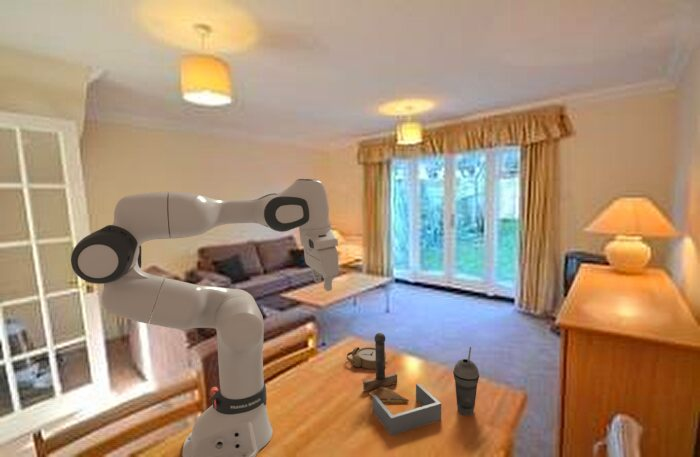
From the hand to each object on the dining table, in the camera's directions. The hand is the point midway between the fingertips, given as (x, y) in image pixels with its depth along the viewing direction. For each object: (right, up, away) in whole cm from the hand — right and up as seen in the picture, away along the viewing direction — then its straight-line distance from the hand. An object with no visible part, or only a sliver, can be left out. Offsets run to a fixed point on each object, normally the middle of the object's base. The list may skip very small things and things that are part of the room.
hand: (322, 285), depth 101 cm
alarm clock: (+14, -35, +36) cm, 52 cm away
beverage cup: (+42, -38, +5) cm, 56 cm away
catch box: (+24, -38, +3) cm, 45 cm away
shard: (+20, -38, +13) cm, 45 cm away
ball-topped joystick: (+18, -37, +18) cm, 45 cm away
